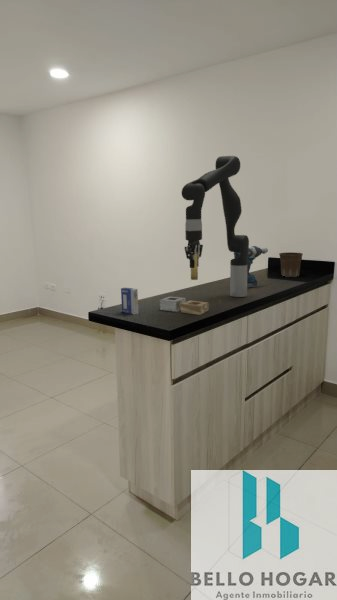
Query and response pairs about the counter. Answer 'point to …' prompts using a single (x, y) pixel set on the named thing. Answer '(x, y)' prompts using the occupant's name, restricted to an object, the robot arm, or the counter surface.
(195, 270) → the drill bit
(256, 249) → the impact wrench
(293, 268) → the plant pot
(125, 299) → the walkman
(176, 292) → the counter surface
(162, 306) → the socket block
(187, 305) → the rack block
